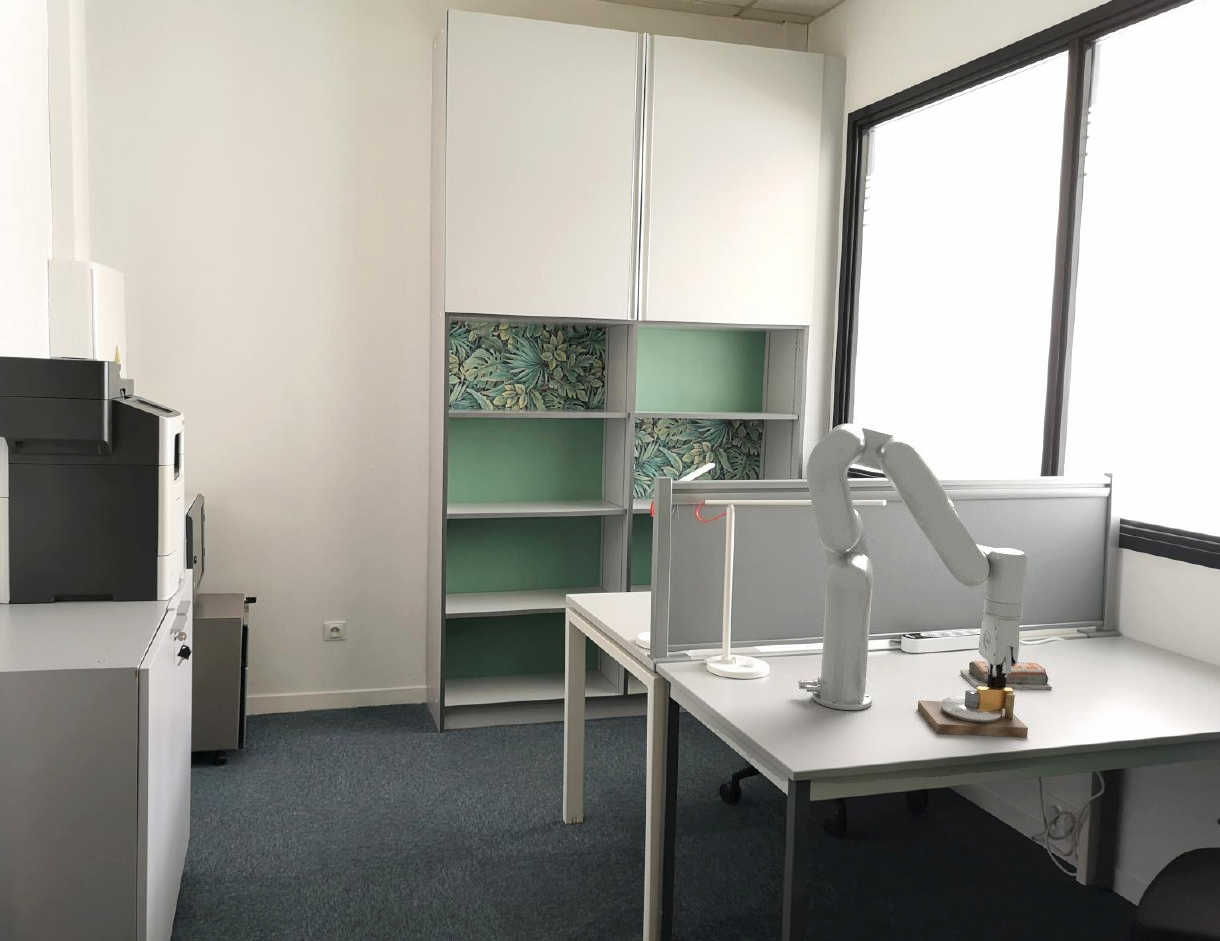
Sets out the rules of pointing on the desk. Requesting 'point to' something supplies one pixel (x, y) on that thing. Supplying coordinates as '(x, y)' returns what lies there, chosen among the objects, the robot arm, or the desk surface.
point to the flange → (978, 705)
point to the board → (961, 727)
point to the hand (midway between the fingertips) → (995, 693)
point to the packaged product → (1009, 676)
